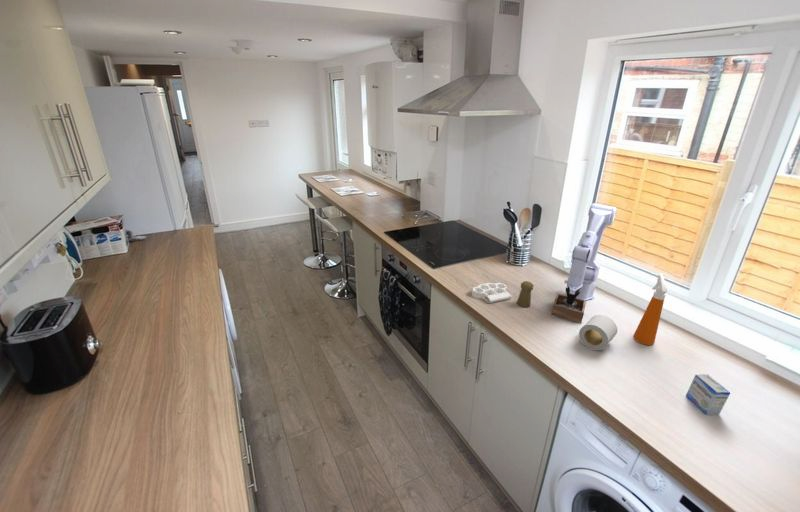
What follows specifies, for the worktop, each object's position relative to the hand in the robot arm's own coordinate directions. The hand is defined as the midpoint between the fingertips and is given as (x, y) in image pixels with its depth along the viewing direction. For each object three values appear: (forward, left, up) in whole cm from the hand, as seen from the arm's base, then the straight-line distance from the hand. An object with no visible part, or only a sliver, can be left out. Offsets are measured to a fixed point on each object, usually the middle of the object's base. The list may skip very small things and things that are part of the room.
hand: (570, 302), depth 157 cm
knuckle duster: (+21, -26, -6) cm, 34 cm away
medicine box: (+5, +55, -6) cm, 56 cm away
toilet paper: (+8, +20, -6) cm, 22 cm away
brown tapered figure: (+13, -13, -6) cm, 19 cm away
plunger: (0, 0, -5) cm, 5 cm away
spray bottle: (-13, +25, -6) cm, 29 cm away
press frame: (0, 0, -5) cm, 5 cm away
